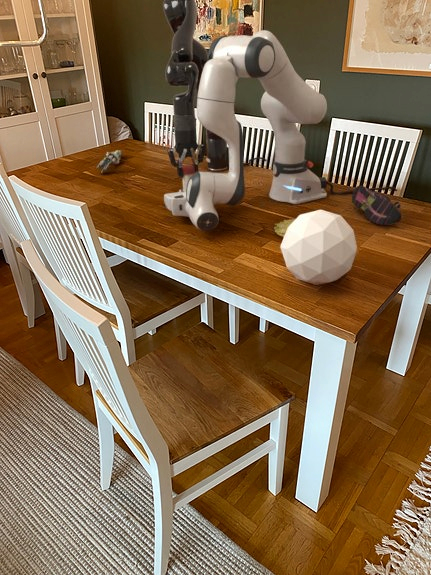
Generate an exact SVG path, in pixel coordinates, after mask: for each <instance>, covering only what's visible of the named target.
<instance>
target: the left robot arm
mask: <svg viewBox="0 0 431 575" xmlns="http://www.w3.org/2000/svg"><path fill="white" fill-rule="evenodd" d="M162 8H163V13H164V16H165V19H166V21H167V23H168V26H169V27H170V29H171V31H172V34H173V37H172V40H171V45H170V46H171V48H170V50H171V52H170V54H171V55H170V58H169V60H168V62H167V64H166V66H165V71H164V72H165V74H164V76H165V80H166V83H167V84H168V85H169V86H171V87H188V88H187V89H186V90H185V91H184V92H181V93H176V94H175V95H174V96H173V97H172V105H173V129H174V131H173V132H174V144H175V145H174V147H173V148H171V149H170V148H168V149H167V151H166V152H167V155H168V158H169V162H170V164H171V166H173V167H174V168H176V173H177V176H178V177H179V179H182V178H183V169H182V166H183V163H184V161H185V159H188V158H190V159H191V162H192V166H194V167H195V173H196V172H197V171H198V172H199V164H200V163H203V162H204V157H205V152H206V158H205V160H206V162H207V163H206V165H207V166H206V167H207V170H208V171H210V172H223V171H226V170H227V169H229V147H228V144H227V142H226V141H225V140H224V139H223V138H221V137H220V136H218V135H216V134H214V133H212V132H211V131H209V130H207V129H206V128H205V134H206V145H204V144H202V143H200V144H198V141H197V140H198V138H197V137H198V136H197V135H198V134H197V119H196V118H197V117H196V113H195V112H196V110H195V108H196V107H195V94H196V93H197V94H198V90H199V84H200V79H201V75H202V71H203V68H204V65H205V64H206V62H207V61H208V50H207V48H206V47H205V46H204V45H203V44H202V43H201V42H200V41H198V40H197V39H195V38H194V36H195V31H196V26H197V21H198V7H197V3H196V0H163V1H162ZM197 151H198V152H197ZM196 152H197V154H196ZM176 154H177V157H176V156H175V155H176ZM255 160H256V161H257V160H262V161H265V162H267V159H266V158H265V157H261V156H257V157H253V158H250V159H249V160H248V162H246V163H244V162H243V164H244V166H248V165H251V163H252V161H255Z"/></svg>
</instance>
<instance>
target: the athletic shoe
mask: <svg viewBox="0 0 431 575" xmlns="http://www.w3.org/2000/svg"><path fill="white" fill-rule="evenodd" d="M353 190H354V192H353V193H352V195H351V202H352V204H353V205H354V206H355V207H357V208H358V209H361V210H362V211H363V213H364V215H365V218H367V219H368V220H369V222H371V223H373V224H376V225H381V226H384V225H385V226H389V225H394V224H397V223H399V222H400V221H402V216H403V215H402V212H401V211H400V209H401V203H400V202H399V201H396V202H392V200H391V199H390V197H388V196H387V195H386V194H383V193H381V192H378V191H377V192H376V191H375V190H368V189H367V187H366V186H364V185H357V186H356V187H355V188H354V189H353Z"/></svg>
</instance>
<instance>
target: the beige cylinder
mask: <svg viewBox="0 0 431 575" xmlns="http://www.w3.org/2000/svg"><path fill="white" fill-rule="evenodd" d="M193 174H194V173H193ZM193 174H189V175H185V174H183V178H181V181H182V190H184V192H185V191H186V188H187V183H188V180H189V179H190V178H191V176H192V175H193Z"/></svg>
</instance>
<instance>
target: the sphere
mask: <svg viewBox="0 0 431 575" xmlns="http://www.w3.org/2000/svg"><path fill="white" fill-rule="evenodd" d="M294 219H295V220H294V222H293V223H292V224H291V225H290V226H289V227H288V228H287V231H286V233H285V235H284V237H282V238H283V239H282V241H281V243H280V246H279V248H280V251H281V253H282V257H283V260H284V262H285V266H286V268H287V270H289V272H290V273H291V274H292V275H293V277H294V278H295V279H296V280H299V281H302V282H306V283H309V284H312V285H315V286H318V285H323V284H328V283H332V282H335V281H338V280H339V279H340V278H342V276H345V274H346V273H348V272H350V270H351V269H352V266H353V263H354V260H355V258H356V255H357V251H358V246H357V240H356V235H355V230H354V229H353V228H352V227H351V225H349V223H348V222H347V221H346V220H345V219H344V217H343V216H342V215H340V214H338V213H334V212H331V211H327V210H324V209H318V210H313V211H309V212H306V213H301V214H299V215H298V216H297V217H296V218H294Z"/></svg>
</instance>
